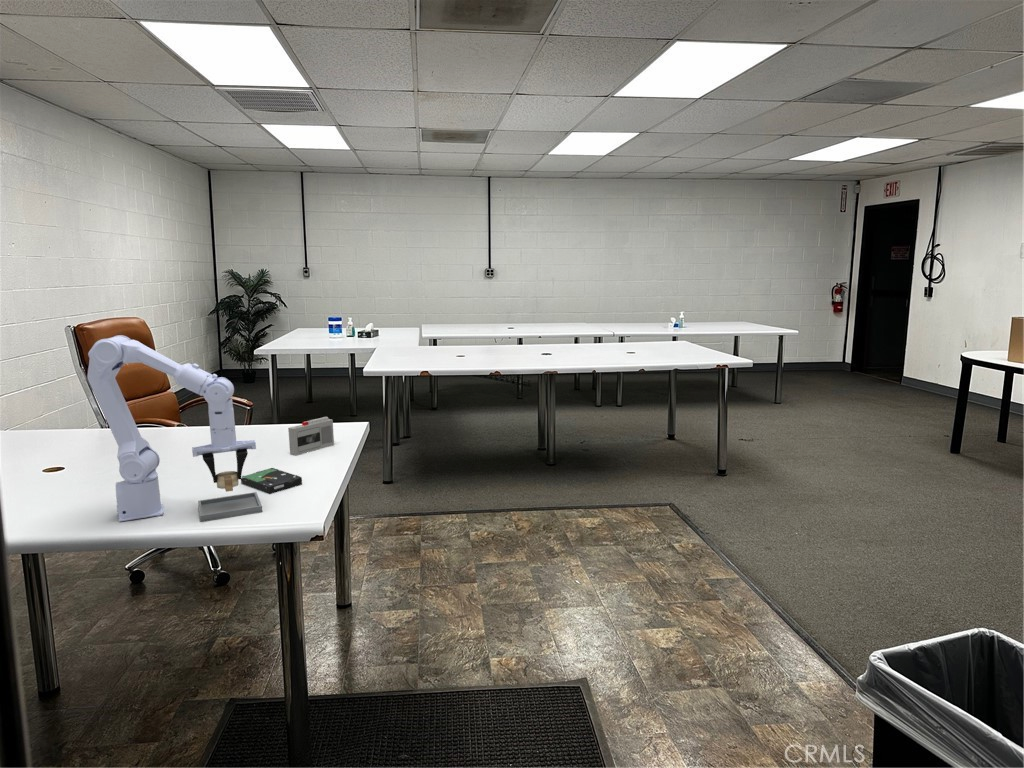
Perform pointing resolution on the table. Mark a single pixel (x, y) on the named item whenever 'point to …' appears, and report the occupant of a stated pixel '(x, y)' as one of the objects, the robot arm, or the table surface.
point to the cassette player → (311, 436)
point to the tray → (229, 506)
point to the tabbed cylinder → (227, 480)
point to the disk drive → (271, 480)
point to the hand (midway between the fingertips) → (227, 480)
